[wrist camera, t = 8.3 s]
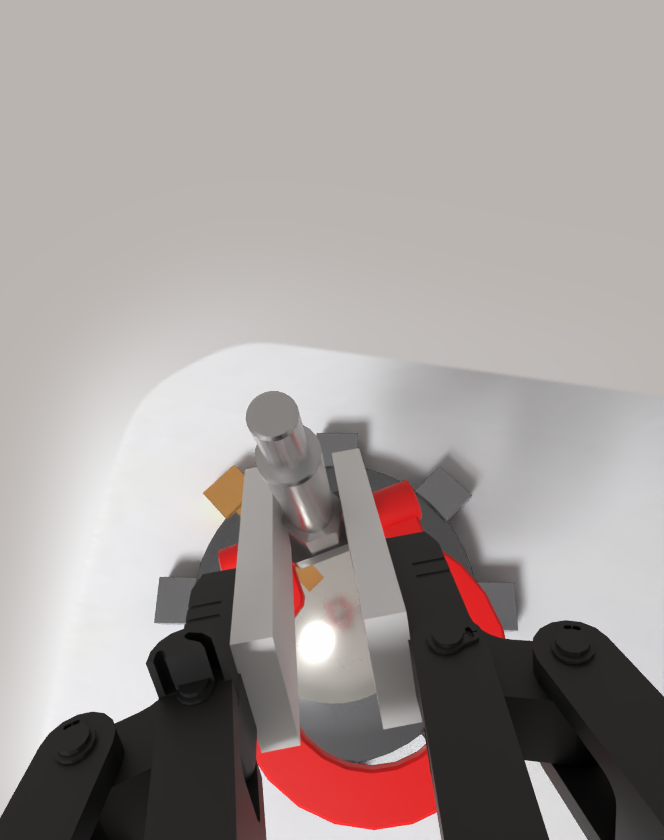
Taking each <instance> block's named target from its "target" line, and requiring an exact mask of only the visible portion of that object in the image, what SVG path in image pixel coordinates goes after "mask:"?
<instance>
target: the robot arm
mask: <svg viewBox="0 0 664 840" xmlns="http://www.w3.org/2000/svg"><path fill="white" fill-rule="evenodd" d="M332 458H333V463H334V469H335V474H336V480H337V485H338V491H339V496H340V501H341V507H342V513H343V519H344V524H345V530H346V535H347V540H348V546H349V551H350V556H351V561H352V567H353V572H354V577H355V582H356V588H357V593H358V598H359V603H360V609H361V614H362V619H363V624H364V630H365V635H366V640H367V645H368V651H369V656H370V661H371V666H372V672H373V677H374V682H375V687H376V693H377V698H378V703H379V708H380V714H381V719H382V724H383V729H389V728H394V727H399V726H404V725H409V724H415V723H420V722H422V721H423V726H424V733H425V740H426V747H427V754H428V761H429V768H430V773H431V778H432V784H433V790H434V796H435V802H436V809H437V815H438V821H439V827H440V834H441V840H549V837H548V834H547V831H546V828H545V825H544V822H543V818H542V815H541V812H540V809H539V806H538V802H537V799H536V796H535V793H534V790H533V787H532V783H531V780H530V777H529V774H528V771H527V767H526V764H525V761H524V760H528V761H537V762H540V763H541V766H542V767H543V769H544V771H545V772H546V774H547V775H548V777H549V779H550V780H551V782H552V783H553V785H554V787H555V788H556V790H557V791H558V793H559V795H560V796H561V798H562V799H563V801H564V802H565V804H566V806H567V807H568V809H569V810H570V812H571V814H572V815H573V817H574V818H575V820H576V822H577V823H578V825H579V826H580V828H581V830H582V831H583V833H584V834H585V836H586V837H587V839H588V840H664V696H663V695H662V694H661V693H660V692H659V691H658V690H657V689H656V688H655V687H654V686H653V685H652V684H651V683H650V682H649V681H648V680H647V678H646V677H645V676H644V675H643V674H642V673H641V672H640V671H639V670H638V669H637V668H636V667H635V666H634V665H633V664H632V663H631V661H630V660H629V659H628V658H627V657H626V656H625V655H624V654H623V653H622V652H621V651H620V650H619V649H618V648H617V647H616V646H615V644H614V643H613V642H612V641H611V640H610V639H609V638H608V637H607V636H606V635H604V634H603V633H602V632H600V631H599V630H598V629H596V628H595V627H592V626H590V625H587V624H584V623H582V622H575V621H566V620H565V621H559V622H552V623H550V624H548V625H546V626H544V627H542V628H540V629H539V631H538V632H537V633H536V635H535V636H534V637H533V641H523V640H510V639H504V638H499V637H496V636H493V635H490V634H488V633H487V632H485V631H483V630H482V629H481V628H480V627H479V626H478V625H477V624H476V623H474V622H473V620H472V619H471V617H470V616H469V613H468V611H467V608H466V606H465V604H464V601H463V599H462V597H461V594H460V592H459V589H458V587H457V585H456V582H455V580H454V578H453V575H452V573H451V572H450V568H449V566H448V563H447V561H446V560H445V556H444V554H443V552H442V549H441V547H440V544H439V542H437V541H436V540H435V539H434V538H432V537H431V536H430V535H429V534H427V533H426V532H425V531H423V532H417V533H412V534H407V535H401V536H396V537H391V538H385V536H384V532H383V529H382V525H381V522H380V518H379V515H378V512H377V508H376V505H375V501H374V498H373V494H372V491H371V487H370V484H369V480H368V477H367V473H366V470H365V466H364V463H363V460H362V456H361V453H360V449H359V448H357V449H351V450H346V451H341V452H335V453H332ZM282 516H283V509H282V507H281V506H280V504H279V502H278V501H277V499H276V498H275V496H274V495H273V493H272V492H271V490H270V488H269V487H268V485H267V484H266V482H265V481H264V479H263V477H262V476H261V474H260V473H259V471H258V469H257V467H254V468H249V469H245V473H244V484H243V496H242V507H241V519H240V531H239V542H238V554H237V565H236V568H233V569H228V570H222V571H217V572H212V573H206V574H202V576H201V577H200V579H199V580H198V581H197V583H196V584H195V586H194V587H193V588H192V590H191V594H190V599H189V604H188V610H187V615H186V624H185V626H184V629H182V630H180V631H177V632H174V633H172V634H170V635H169V636H167V637H166V638H164V639H163V640H161V641H160V642H159V643H158V644H157V645H156V646H155V647H154V649H153V650H152V651H151V652H150V654H149V657H148V660H147V662H146V665H147V668H148V670H149V673H150V676H151V678H152V681H153V684H154V686H155V689H156V692H157V694H158V697H159V700H158V701H156V702H155V703H154V704H152V705H151V706H150V707H148V708H146V709H144V710H143V711H141V712H139V713H137V714H135V715H133V716H130V717H128V718H126V719H124V720H122V721H120V722H117V723H115V724H114V722H113V719H111V718H110V717H109V716H107V715H106V714H105V713H98V712H89V713H84V714H79V715H76V716H74V717H72V718H71V719H69V720H67V721H65V722H63V723H61V724H60V725H59V726H58V727H57V728H55V729H54V730H53V731H52V732H51V733H49V735H48V736H47V737H46V739H45V740H44V741H43V743H42V744H41V745H40V747H39V749H38V750H37V752H36V754H35V756H34V758H33V759H32V761H31V763H30V765H29V767H28V769H27V770H26V772H25V774H24V776H23V778H22V779H21V781H20V783H19V785H18V787H17V789H16V790H15V792H14V794H13V796H12V798H11V799H10V801H9V803H8V805H7V807H6V808H5V811H4V812H3V814H2V816H1V818H0V840H266V828H265V814H264V801H263V787H262V777H261V773H260V770H259V767H258V764H257V760H256V750H257V739H258V742H259V746H260V749H261V752H262V753H264V752H269V751H274V750H279V749H284V748H290V747H295V746H300V745H301V743H300V721H299V700H298V679H297V658H296V637H295V616H294V595H293V574H292V553H291V544H290V539H289V535H288V531H287V530H286V528H285V527H284V526H283V524H282Z"/></svg>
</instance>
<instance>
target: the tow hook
mask: <svg viewBox="0 0 664 840" xmlns="http://www.w3.org/2000/svg"><path fill="white" fill-rule="evenodd" d="M246 422H247V426H248V428H249V430H250V432H251V434H252V435H253V437H254V439H255V441H256V443H257V446H256V449H255V462H256V467H257V469H258V471H259V473H260V474H261V476H262V477H263V479H264V481H265V482H266V484H267V485H268V487H269V488H270V490H271V492H272V493H273V495H274V496H275V498H276V499H277V501H278V502H279V504H280V506H281V507H282V509H283V510H284V511H283V516H282V524H283V526H284V527H285V528H286V530H287V531H288V535H289V539H290V544H291V553H292V574H293V595H294V616H295V618H296V616H297V615H298V614H299V612H300V611H301V610H302V608H303V607H304V602H305V595H304V592H303V589H302V586H301V583H300V580H299V577H298V574H297V572H296V569H295V567H298V568H299V569H303V568H306V567H308V566H311V565H314V564H316V563H319V562H322V561H324V560H327V559H329V558H332V557H335V556H337V555H340V554H342V553H345V552H348V551H349V546H348V540H347V535H346V530H345V524H344V519H343V513H342V507H341V501H340V496H339V491H336V492H333V493H332V492H331V491H330V488H329V483H328V478H327V474H326V469H325V464H324V459H323V455H322V450H321V446H320V442H319V440H318V439H317V437H316V435H315V434H314V433H313V432H312V431H311V430H310V429H309V428H307V427H305V426H304V425H303V424H302V421H301V417H300V414H299V410H298V407H297V405H296V403H295V401H294V400H293V399H292V398H291V397H290V396H288V395H286V394H285V393H282V392H278V391H270V392H265V393H263V394H261V395H259V396H257V397H256V398H255V399H254V400H253V401H252V402H251V403H250V405H249V407H248V409H247V412H246ZM372 494H373V498H374V501H375V505H376V508H377V512H378V515H379V518H380V522H381V525H382V529H383V532H384V536H385V538H391V537H396V536H401V535H407V534H412V533H417V532H423V531H424V530H423V527H422V525H421V523H420V520H421V519H422V514H421V508H420V505H419V502H418V499H417V497H416V494H415V492H414V490H413V488H412V486H411V485H410V484H409V482H408V481H407V480H404V481H401V482H399V483H396V484H393V485H391V486H388V487H386V488H383V489H380V490H378V491H375V492H372ZM442 552H443V554H444V556H445V560H446V561H447V563H448V566H449V568H450V572H451V573H452V575H453V578H454V580H455V582H456V585H457V587H458V589H459V592H460V594H461V597H462V599H463V601H464V604H465V606H466V608H467V611H468V613H469V616H470V617H471V619H472V620H473V622H474V623H476V624H477V625H478V626H479V627H480V628H481V629H482V630H483V631H485V632H487V633H488V634H490V635H493V636H496V637H499V638H504V639H505V635H504V630H503V627H502V625H501V623H500V621H499V619H498V617H497V614H496V612H495V610H494V608H493V606H492V604H491V602H490V600H489V598H488V596H487V594H486V592H485V591H484V590H483V589H482V588H481V586H480V585H479V584H478V583H477V582H476V581H475V579H474V578H473V577H472V576H471V575H470V573H469V572H468V571H467V570H466V569H465V567H464V566H463V565H462V564H461V563H459V562H458V561H457V560H455V559H454V558H452V557H451V556H450V555H448V554H447V553H446V552H444V551H443V550H442ZM237 554H238V543H237V544H234V545H232V546H229V547H226V548H224V549H221V550H219V551H218V558H219V565H220V569H221V571H222V570H228V569H233V568H236V565H237ZM300 743H301V745H300V746H295V747H290V748H284V749H279V750H274V751H269V752H264V753H262V752H261V749H260V746H259V742H258V739H257V750H256V760H257V764H258V765H259V767H260V768H261V770H262V771H263V773H264V774H265V776H266V777H267V779H268V780H269V781H270V782H271V783H272V784H273V785H274V786H276V787H277V788H278V789H279V790H280V791H281V792H282V793H283V794H285V795H286V796H287V797H288V798H289V799H290V800H291V801H293V802H294V803H295V804H296V805H297V806H298V807H300V808H302V809H304V810H306V811H308V812H311V813H313V814H315V815H317V816H319V817H321V818H323V819H325V820H327V821H329V822H332V823H334V824H338V825H345V826H352V827H358V828H365V829H371V830H376V829H383V828H389V827H396V826H403V825H409V824H414V823H416V822H418V821H420V820H422V819H424V818H426V817H428V816H430V815H432V814H434V813H436V812H437V809H436V802H435V796H434V790H433V784H432V778H431V773H430V768H429V761H428V754H427V747H426V744H425V745H424V746H423V747H422V748H421V749H420V750H418V751H417V752H415V753H413V754H411V755H409V756H407V757H405V758H402V759H400V760H398V761H396V762H391V763H384V764H377V765H366V764H359V763H352V762H347V761H345V760H343V759H340V758H338V757H336V756H334V755H332V754H329V753H327V752H325V751H324V750H323V749H322V748H321V747H319V746H318V745H317V744H316V743H315V742H314V741H312V740H311V739H310V738H309V737H308V736H307V735H306V734H305V733H304V731H303V730H302V728H301V727H300Z"/></svg>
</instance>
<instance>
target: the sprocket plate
mask: <svg viewBox="0 0 664 840" xmlns="http://www.w3.org/2000/svg"><path fill="white" fill-rule="evenodd" d="M317 439H318V440H319V442H320V446H321V450H322V455H323V459H324V464H325V469H326V474H327V478H328V483H329V488H330V491H331V492H332V493H333V492H336V491H338V485H337V480H336V474H335V469H334V463H333V458H332V453H335V452H341V451H346V450H351V449H357V448H358V435H357V433H317ZM365 470H366V473H367V477H368V480H369V484H370V487H371V491H372V492H375V491H378V490H380V489H383V488H386V487H388V486H391V485H393V484H396V483H399V482H400V481H398V480H396V479H394V478H391V477H389V476H387V475H384V474H381V473H378V472H375V471H372V470H368V469H365ZM243 484H244V474H243V473H242V472H241V471H240V470H239V469H238V468H237V467H236V466H235V465H234V466H233V467H231V468H230V469H229V470H228V471H227V472H226V473H225V474H224V475H223V476H221V477H220V478H219V479H218V480H217V481H216V482H215V483H214V484H212V485H211V486H210V487H209V488H208V489H207V490H206V491H205V492H204V493H203V494H204V495H205V496H206V497H207V498H208V499H209V500H210V501H211V502H212V504H213V505H214V506H215V507H216V508H217V509H218V510H219V511H220V512H221V514H222V515H223V516H224V517H225V518H226V519H225V521H224V522H223V523H222V525H221V526H220V527H219V529H218V530H217V532H216V533H215V535H214V537H213V539H212V540H211V542H210V544H209V545H208V548H207V550H206V552H205V555H204V557H203V559H202V562H201V564H200V568H199V571H198V575H197V578H191V577H160V578H159V586H158V595H157V603H156V612H155V621H154V623H158V624H186V615H187V610H188V604H189V599H190V594H191V590H192V588H193V587H194V586H195V584H196V583H197V581H198V580H199V579H200V577H201V576H202V574H206V573H212V572H217V571H221V569H220V565H219V558H218V551H219V550H221V549H224V548H226V547H229V546H232V545H234V544H237V543H238V542H239V531H240V519H241V507H242V496H243ZM414 492H415V494H416V497H417V499H418V502H419V505H420V508H421V514H422V519H421V520H420V523H421V525H422V527H423V530H424V531H425V532H426V533H427V534H429V535H430V536H431V537H432V538H434V539H435V540H436V541H437V542H439V544H440V547H441V549H442V550H443V551H444V552H446V553H447V554H448V555H450V556H451V557H452V558H454V559H455V560H457V561H458V562H459V563H461V564H462V565H463V566H464V567H465V569H466V570H467V571H468V572H469V573H470V575H471V576H472V577H473V573H472V569H471V566H470V563H469V560H468V558H467V555H466V553H465V550H464V548H463V546H462V544H461V543H460V541H459V539H458V537H457V535H456V533H455V532H454V531H453V529H452V528H451V526H450V525H449V524H448V521H449V520H450V519H451V518H452V517H453V516H454V515H455V514H456V513H457V512H458V511H459V510H460V509H461V508H462V507H463V506H464V505H465V504H466V503H467V502H468V501H469V499H470V497H471V496H472V495H471V494H470V493H469V492H468V491H467V490H466V489H464V488H463V487H462V486H461V485H460V484H459V483H458V482H457V481H456V480H455V479H454V478H453V477H452V476H450V475H449V474H448V473H447V472H446V471H445V470H444V469H443V468H442V467H441V466H440V467H439V468H438V469H437V470H436V471H435V472H434V473H433V474H432V475H431V476H430V477H429V478H428V479H426V480H425V481H424V482H423V483H422V484H421V485H420V486H419V487H418V488H417V489H416V490H414ZM283 511H284V510H283ZM295 569H296V572H297V574H298V577H299V580H300V583H301V586H302V589H303V592H304V595H305V602H304V607H303V608H302V610H301V611H300V612H299V614H298V615H297V616H296V618H295V637H296V658H297V679H298V700H299V721H300V727H301V728H302V730H303V731H304V733H305V734H306V735H307V736H308V737H309V738H310V739H311V740H312V741H314V742H315V743H316V744H317V745H318V746H319V747H321V748H322V749H323V750H324V751H325V752H327V753H329V754H332V755H334V756H336V757H338V758H340V759H343V760H345V761H347V762H352V763H356V762H361V761H366V760H371V759H374V758H377V757H380V756H383V755H386V754H388V753H391V752H393V751H395V750H397V749H398V748H400V747H402V746H404V745H406V744H408V743H409V742H411V741H412V740H414V739H415V738H416V737H418V736H419V735H421V734H422V735H423V736H424V738H425V733H424V726H423V721H422V722H420V723H415V724H409V725H404V726H399V727H394V728H389V729H383V724H382V719H381V714H380V708H379V703H378V698H377V693H376V687H375V682H374V677H373V672H372V666H371V661H370V656H369V651H368V645H367V640H366V635H365V630H364V624H363V619H362V614H361V609H360V603H359V598H358V593H357V588H356V582H355V577H354V572H353V567H352V561H351V556H350V551H348V552H345V553H342V554H340V555H337V556H335V557H332V558H329V559H327V560H324V561H322V562H319V563H316V564H314V565H311V566H308V567H306V568H303V569H299V568H298V567H295ZM473 578H474V577H473ZM477 583H478V584H479V585H480V586H481V588H482V589H483V590H484V591H485V592H486V594H487V596H488V598H489V600H490V602H491V604H492V606H493V608H494V610H495V612H496V614H497V617H498V619H499V621H500V623H501V625H502V627H503V630H504V631H517V630H518V624H517V612H516V599H515V586H514V583H497V582H477Z"/></svg>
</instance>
